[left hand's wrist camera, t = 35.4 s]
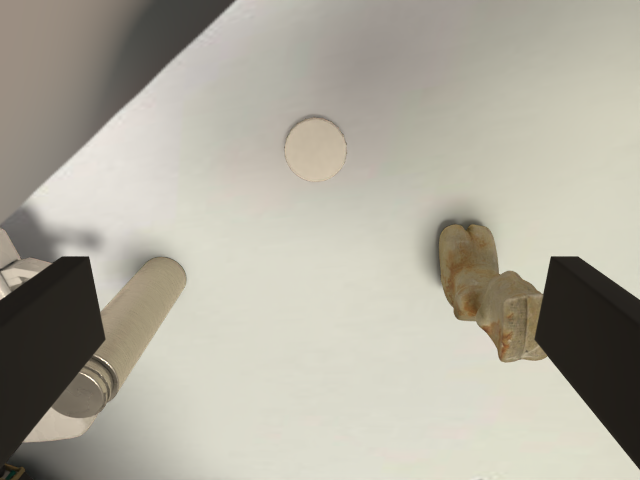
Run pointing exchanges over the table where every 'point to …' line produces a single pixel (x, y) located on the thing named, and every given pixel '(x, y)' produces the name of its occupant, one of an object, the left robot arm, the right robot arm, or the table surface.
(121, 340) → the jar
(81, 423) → the right robot arm
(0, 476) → the spray gun
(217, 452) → the table surface
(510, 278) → the sculpture
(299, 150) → the lid
